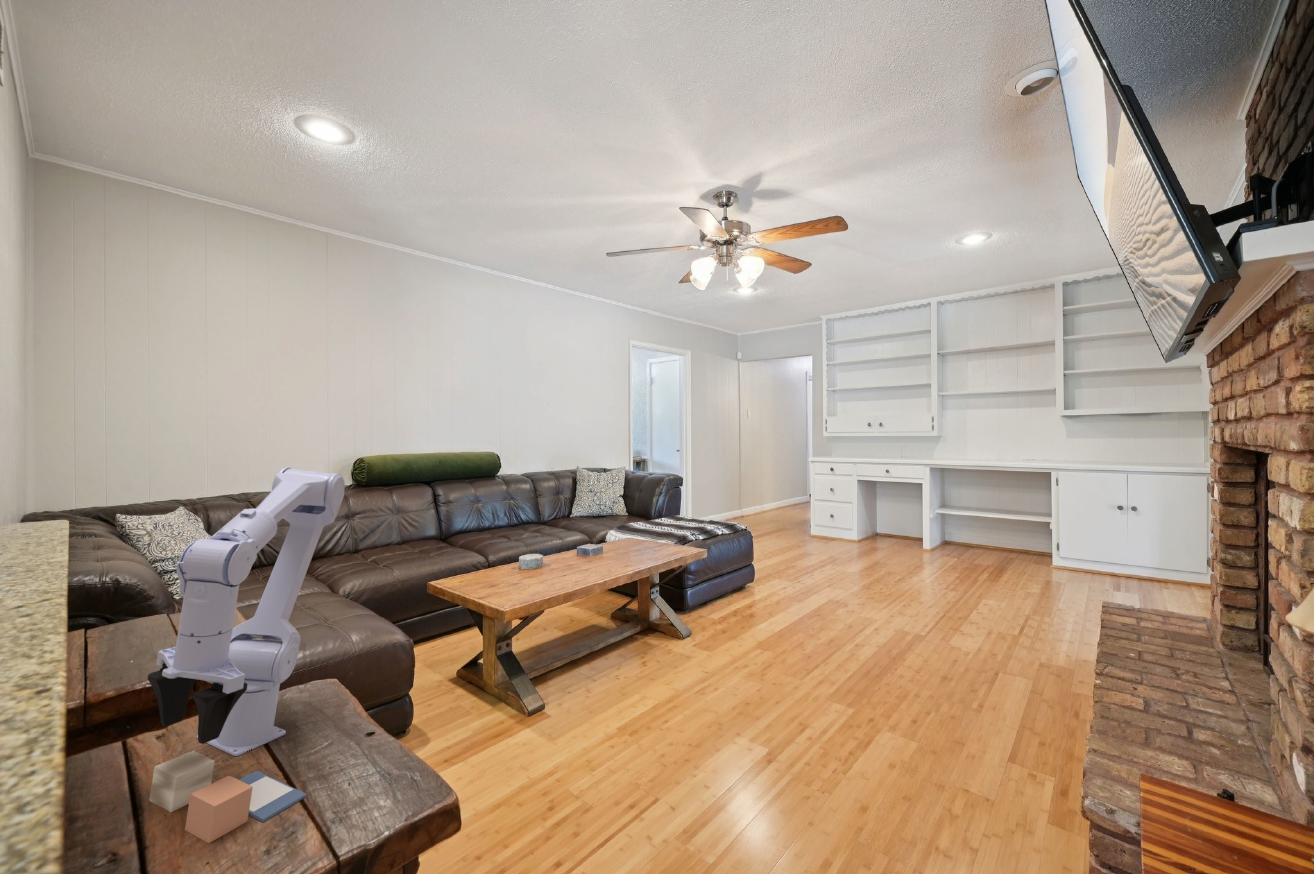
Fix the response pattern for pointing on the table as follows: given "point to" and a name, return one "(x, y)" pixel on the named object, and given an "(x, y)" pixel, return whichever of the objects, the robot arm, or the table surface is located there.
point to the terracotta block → (218, 808)
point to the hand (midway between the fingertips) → (190, 731)
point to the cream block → (180, 780)
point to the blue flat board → (269, 796)
